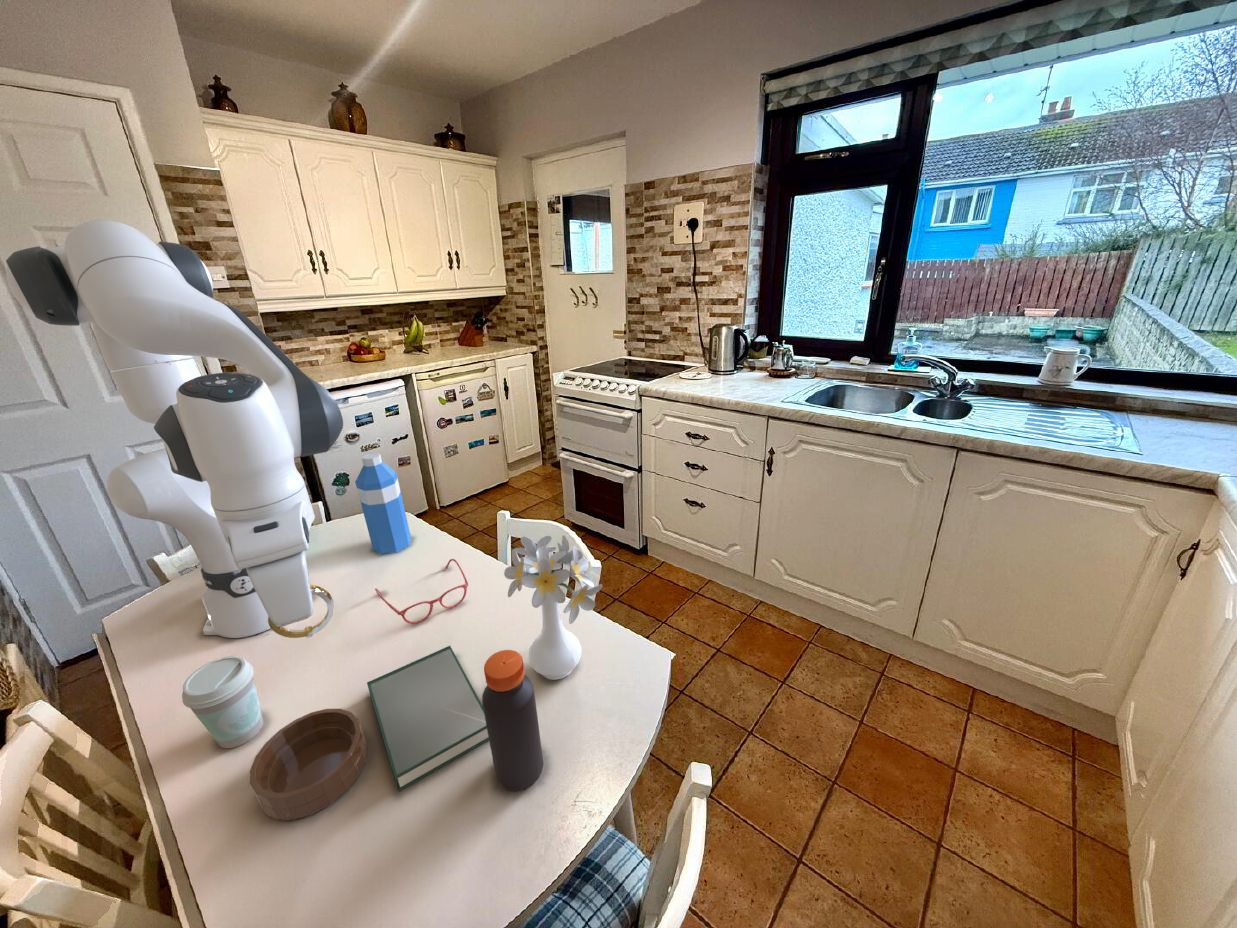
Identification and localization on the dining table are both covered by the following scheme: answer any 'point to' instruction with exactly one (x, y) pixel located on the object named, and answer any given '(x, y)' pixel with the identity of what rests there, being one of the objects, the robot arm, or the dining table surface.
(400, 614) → the red eyeglasses
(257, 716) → the coffee cup
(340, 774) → the bowl
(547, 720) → the dining table surface
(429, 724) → the book
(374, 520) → the water bottle
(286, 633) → the ring
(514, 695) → the vinegar
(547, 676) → the flower vase
